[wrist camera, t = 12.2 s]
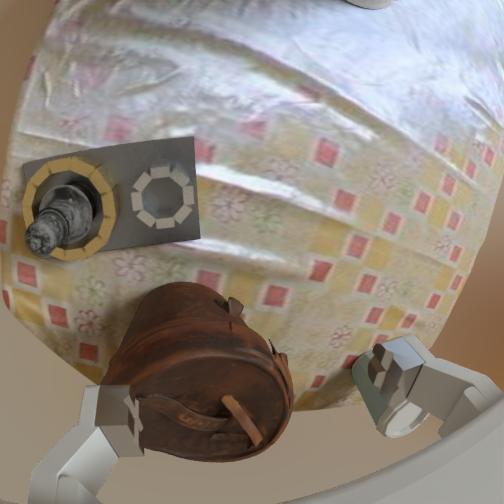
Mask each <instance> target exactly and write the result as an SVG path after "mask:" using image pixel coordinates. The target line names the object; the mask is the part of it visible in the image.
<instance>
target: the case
mask: <svg viewBox="0 0 504 504" xmlns="http://www.w3.org/2000/svg"><path fill="white" fill-rule="evenodd" d="M243 307H244V306H243V305H242V304H241V303H240V302H239V301H238V300H236V299H235V298H233V297H229V299H228V302H227V301H226V300H225V299H224V298H223V297H222V296H221V295H220V294H219V293H217V292H216V291H214V290H212V289H211V288H208V287H206V286H204V285H201V284H197V283H191V282H175V283H170V284H167V285H164V286H161V287H159V288H157V289H155V290H154V291H152V292H151V293H150V294H148V295H147V296H146V298H145V299H144V300H143V301H142V303H141V305H140V306H139V308H138V310H137V312H136V314H135V316H134V318H133V320H132V322H131V324H130V327H129V329H128V331H127V333H126V335H125V337H124V339H123V341H122V343H121V346H120V348H119V350H118V351H117V353H115V354H114V355H113V357H112V358H111V359H110V362H109V368H108V371H107V373H106V375H105V376H104V378H103V380H102V383H101V385H132V386H133V388H134V390H135V399H136V400H138V401H139V403H140V406H141V409H142V414H143V426H144V428H143V429H142V431H141V435H142V437H143V439H144V448H147V449H150V450H153V451H160V452H164V453H167V454H170V455H173V456H176V457H179V458H184V459H188V460H194V461H203V462H234V461H239V460H243V459H247V458H250V457H253V456H256V455H258V454H260V453H262V452H264V451H265V450H266V449H268V448H269V447H270V446H271V445H273V444H274V443H275V442H276V441H277V439H278V438H279V437H280V435H281V434H282V433H283V431H284V429H285V428H286V426H287V424H288V422H289V419H290V416H291V413H292V409H293V401H294V392H293V384H292V379H291V375H290V372H289V369H288V360H287V355H286V354H284V353H278V352H277V351H276V350H275V348H274V346H273V344H272V342H271V341H270V339H268V340H269V341H270V344H271V346H272V352H273V353H271V351H270V349H269V347H268V345H267V343H266V341H265V340H264V339H263V338H262V337H261V336H260V335H259V334H258V333H256V332H255V331H253V330H252V329H250V328H249V327H248V326H247V325H246V324H245V322H244V321H243V320H242V318H241V317H240V316H239V315H240V314H241V312H242V310H243Z"/></svg>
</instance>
